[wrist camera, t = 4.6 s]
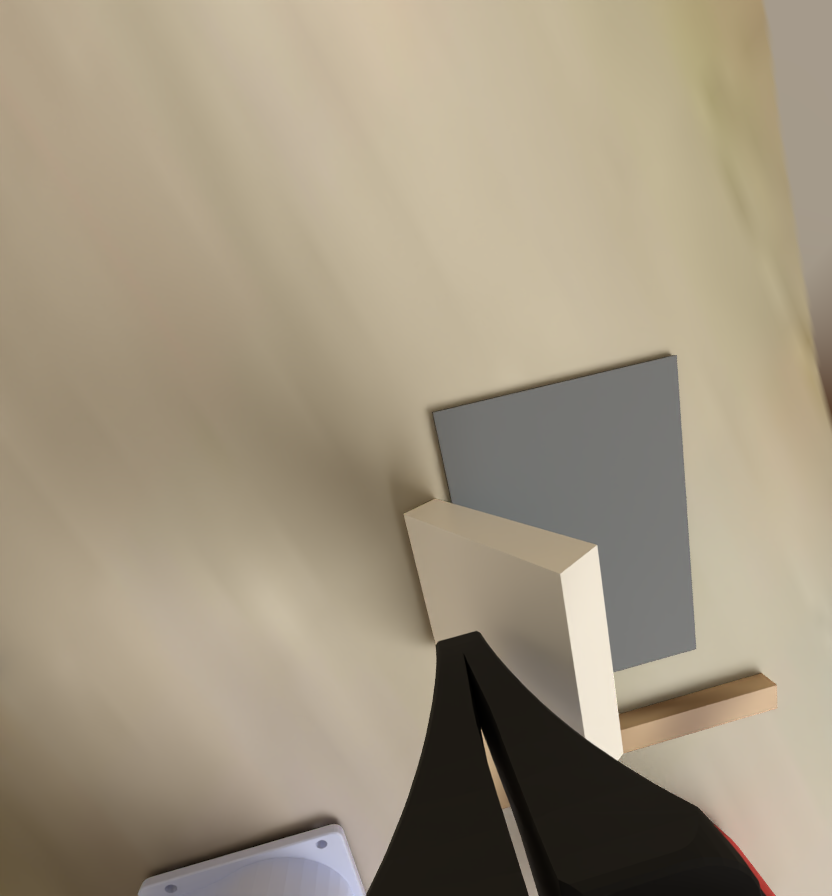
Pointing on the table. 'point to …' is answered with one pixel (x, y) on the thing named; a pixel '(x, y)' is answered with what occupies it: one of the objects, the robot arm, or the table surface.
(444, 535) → the tile
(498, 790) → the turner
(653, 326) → the table surface
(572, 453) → the mat
